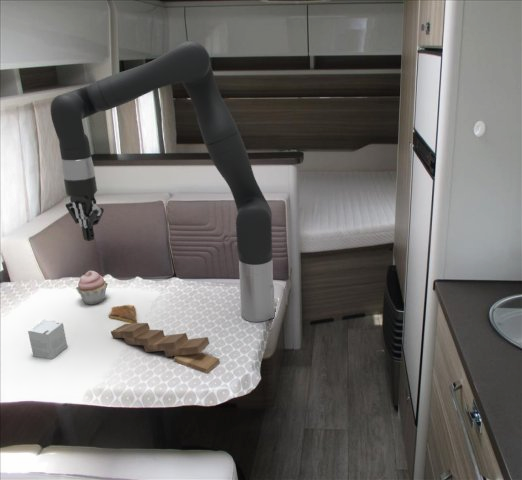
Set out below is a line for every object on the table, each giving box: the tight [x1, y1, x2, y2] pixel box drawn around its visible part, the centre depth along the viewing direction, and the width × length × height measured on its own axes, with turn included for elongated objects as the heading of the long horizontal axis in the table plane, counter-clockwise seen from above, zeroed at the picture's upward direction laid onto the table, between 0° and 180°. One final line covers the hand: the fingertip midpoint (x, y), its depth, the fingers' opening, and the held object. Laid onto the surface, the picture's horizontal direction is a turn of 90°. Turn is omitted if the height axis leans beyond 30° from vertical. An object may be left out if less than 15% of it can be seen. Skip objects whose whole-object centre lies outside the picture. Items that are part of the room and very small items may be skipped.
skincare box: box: [27, 319, 68, 360], centre depth 130 cm, size 6×6×7 cm
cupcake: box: [75, 270, 109, 305], centre depth 156 cm, size 9×9×10 cm
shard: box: [108, 304, 138, 324], centre depth 146 cm, size 11×8×2 cm
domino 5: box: [173, 352, 220, 374], centre depth 124 cm, size 2×5×10 cm
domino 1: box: [110, 322, 151, 339], centre depth 135 cm, size 2×5×10 cm
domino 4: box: [163, 336, 210, 358], centre depth 126 cm, size 2×5×10 cm
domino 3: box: [143, 332, 189, 353], centre depth 128 cm, size 2×5×10 cm
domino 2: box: [123, 329, 166, 346], centre depth 132 cm, size 2×5×10 cm
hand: (89, 239), depth 135 cm, fingers closed
